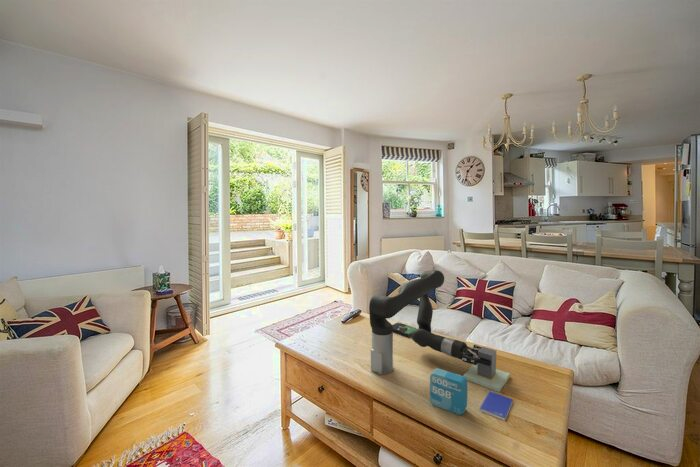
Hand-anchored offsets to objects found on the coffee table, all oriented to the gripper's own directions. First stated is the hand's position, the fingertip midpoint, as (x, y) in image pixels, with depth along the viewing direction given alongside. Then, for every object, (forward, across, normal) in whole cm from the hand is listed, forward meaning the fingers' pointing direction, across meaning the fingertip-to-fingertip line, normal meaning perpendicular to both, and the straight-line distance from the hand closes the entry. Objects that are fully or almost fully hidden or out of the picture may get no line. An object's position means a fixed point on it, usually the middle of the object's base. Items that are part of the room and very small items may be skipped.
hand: (493, 360), depth 123 cm
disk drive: (-55, +18, +9) cm, 58 cm away
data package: (-6, -28, +9) cm, 30 cm away
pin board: (-2, 0, +8) cm, 9 cm away
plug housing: (-2, 0, +7) cm, 7 cm away
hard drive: (+6, -16, +9) cm, 20 cm away
